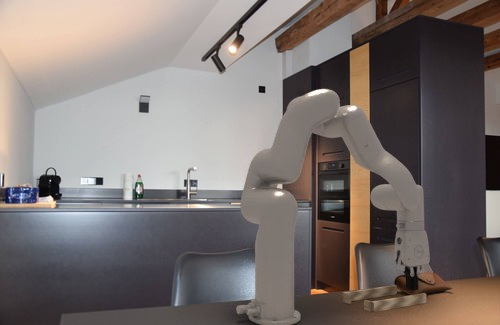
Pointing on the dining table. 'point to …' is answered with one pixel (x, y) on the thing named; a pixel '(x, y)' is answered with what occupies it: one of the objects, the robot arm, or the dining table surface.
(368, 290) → the wooden pieces
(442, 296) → the dining table surface
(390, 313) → the dining table surface
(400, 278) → the sunglasses case
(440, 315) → the dining table surface
